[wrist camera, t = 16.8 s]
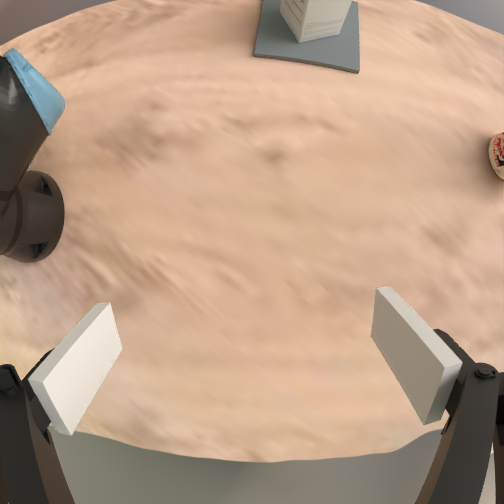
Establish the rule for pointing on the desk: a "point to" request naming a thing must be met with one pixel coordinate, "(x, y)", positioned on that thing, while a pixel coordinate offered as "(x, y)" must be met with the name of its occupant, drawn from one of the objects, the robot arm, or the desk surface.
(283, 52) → the slate mat
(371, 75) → the desk surface
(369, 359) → the desk surface
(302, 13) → the supplement box
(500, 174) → the teacup with lid
